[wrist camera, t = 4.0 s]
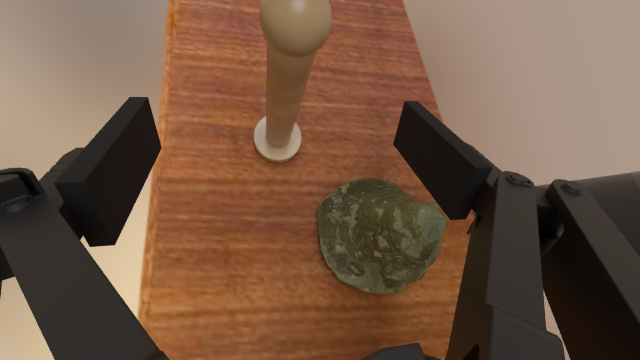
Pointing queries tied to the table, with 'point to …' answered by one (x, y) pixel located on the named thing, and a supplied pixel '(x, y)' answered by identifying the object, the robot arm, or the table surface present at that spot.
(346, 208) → the seashell
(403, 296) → the table surface
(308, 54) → the pestle
